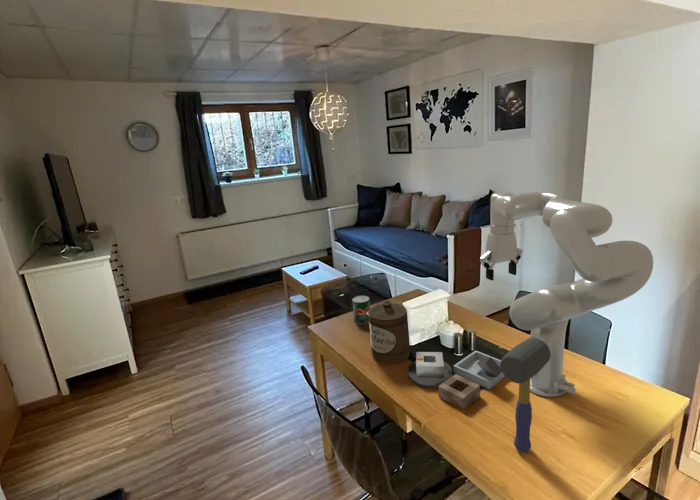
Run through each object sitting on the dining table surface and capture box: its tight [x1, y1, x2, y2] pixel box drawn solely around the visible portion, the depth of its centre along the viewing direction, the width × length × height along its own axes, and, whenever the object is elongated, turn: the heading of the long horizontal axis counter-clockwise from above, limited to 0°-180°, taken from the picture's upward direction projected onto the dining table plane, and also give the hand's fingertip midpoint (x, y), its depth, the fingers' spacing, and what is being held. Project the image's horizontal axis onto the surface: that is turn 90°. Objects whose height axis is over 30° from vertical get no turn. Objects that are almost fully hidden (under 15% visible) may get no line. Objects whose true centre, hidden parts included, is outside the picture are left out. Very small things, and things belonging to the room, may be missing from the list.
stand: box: [437, 374, 481, 411], centre depth 122 cm, size 9×9×4 cm
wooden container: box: [368, 300, 411, 365], centre depth 147 cm, size 15×15×22 cm
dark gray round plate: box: [407, 360, 453, 389], centre depth 134 cm, size 15×15×2 cm
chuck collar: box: [415, 351, 444, 377], centre depth 133 cm, size 9×9×4 cm
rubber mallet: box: [500, 337, 551, 454], centre depth 96 cm, size 12×8×30 cm, turn 130°
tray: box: [452, 350, 506, 391], centre depth 133 cm, size 14×14×3 cm
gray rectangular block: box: [472, 356, 502, 377], centre depth 128 cm, size 6×3×10 cm
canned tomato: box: [351, 295, 371, 325], centre depth 179 cm, size 8×8×11 cm
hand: (501, 276), depth 136 cm, fingers open, 9 cm apart
